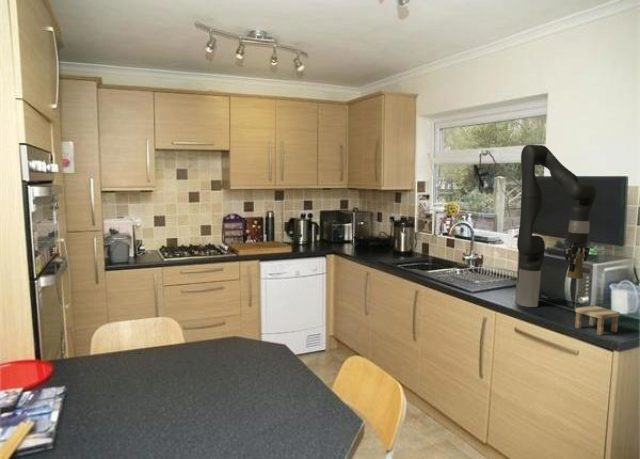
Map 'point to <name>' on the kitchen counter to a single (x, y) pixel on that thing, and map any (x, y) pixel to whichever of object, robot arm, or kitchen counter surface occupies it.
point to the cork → (577, 268)
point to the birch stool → (597, 313)
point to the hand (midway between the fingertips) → (575, 271)
